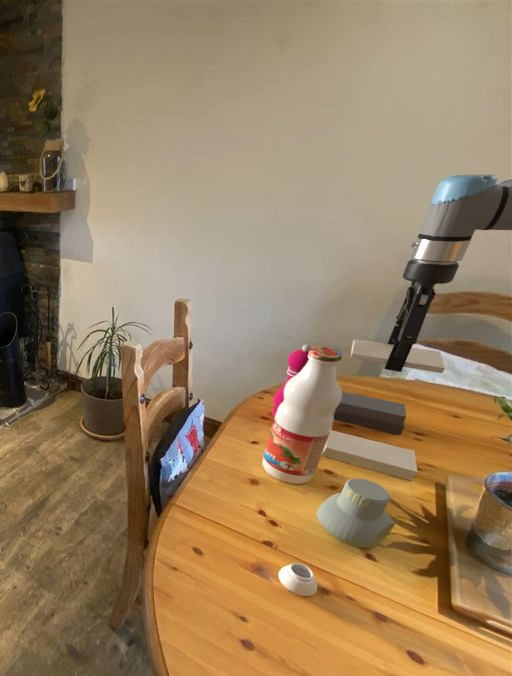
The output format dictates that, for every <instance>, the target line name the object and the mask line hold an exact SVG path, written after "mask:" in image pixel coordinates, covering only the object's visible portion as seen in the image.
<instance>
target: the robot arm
mask: <svg viewBox="0 0 512 676" xmlns="http://www.w3.org/2000/svg"><path fill="white" fill-rule="evenodd" d="M498 179H499V178H498V176H497V175H496V174H457V175H456V174H455V175H449V176H447V177H445V178H443V179H442V180H441V181H440V182H439V183H438V186H437V188H436V190H435V192H434V195H433V196H432V199H431V200H430V202H429V206H428V209H427V211H426V214H425V217H424V218H423V222H422V224H421V228H420V230H419V233H418V236H417V238H416V241H415V242H411V243H410V245H409V247H410V248H413V249H412V251H411V254H410V257H411V259H409V260H408V261H407V263H406V265H405V268H404V271H403V273H402V278H403V280H406V281H409V282H410V286H408V288H407V290H406V293H405V297H404V299H403V303H402V305H401V306H400V309H399V312H398V313H397V315H396V317H395V318H396V320H395V324H394V326H393V329H392V331H391V334H390V336H389V338H388V341H387V343H386V344H391V345H394V346H393V348H392V351H391V353H390V356H389V358H388V361H387V363H386V364H384V365H385V366H384V367H383V368H384V370H386V371H393V372H399V373H402V371H403V368H404V367H403V366H404V364H405V362H406V359H407V357H408V355H409V352H410V350H411V348H413V346H414V345H416V343H417V342H418V341H417V340H418V338H419V334H420V332H421V329H422V327H423V324H424V322H425V319H426V316H427V315H428V311H429V309H430V306H431V304H432V301H433V300H434V299H435V296H436V290H435V288H434V286H435V285H444V284H449V283H451V282H453V280H454V278H455V276H456V274H457V272H458V269H459V268H460V264H459V263H458V262H461V261H462V260H463V259H464V257H465V255H466V253H467V250H468V248H469V245H470V244H471V241H472V239H473V235H474V233H476V231H512V179H506V180H501V181H499V182H498Z"/></svg>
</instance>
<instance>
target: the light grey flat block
mask: <svg viewBox="0 0 512 676" xmlns="http://www.w3.org/2000/svg"><path fill="white" fill-rule="evenodd" d="M321 457H325V458H329V459H332V460H334V461H335V460H336V461H340V462H342V463H346V464H350V465H354V466H358V467H361V468H365V469H367V470H372V471H375V472H379V473H382V474H386V475H390V476H393V477H397V478H400V479H404V480H407V481H413V479H414V477H416V476H417V474H418V465H417V457H416V451H415V450H413V449H409V448H405V447H400V446H397V445H392V444H388V443H384V442H380V441H377V440H372V439H368V438H364V437H360V436H357V435H353V434H352V435H351V434H348V433H344V432H340V431H336V430H332V429H331V432H330V434H329V437H328V439H327V442H326V445H325V447H324V450H323V453H322V455H321Z"/></svg>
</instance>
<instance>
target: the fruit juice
mask: <svg viewBox="0 0 512 676" xmlns="http://www.w3.org/2000/svg"><path fill="white" fill-rule="evenodd" d="M342 357H343V354H342V352H341V351H340V350H338V349H336V348H332V347H327V346H313V347H311V349H310V351H309V353H308V358H309V360H308V362H307V364H306V365H305V366H304V368H303V369H302V370H301V371H300V372H299V373H298V374H297V375H296V376H294V377H293V378H291V379H290V380H289V381H288V382H287V383H286V382H285V383H286V385H285V388H284V401H283V402H282V403H281V404H280V405H279V407H278V409H277V412H276V415H275V417H274V419H273V423H272V424H271V425H272V426H271V429H270V433H269V436H268V439H267V442H266V445H265V449H264V452H263V455H262V460H261V461H262V462H261V464H262V468H263V469H264V471H265V472H266V473H267V474H268V475H270V476H271V477H273V478H274V479H277V480H279V481H281V482H284V483H289V484H295V485H296V484H297V485H300V484H306V483H309V482H310V481H311V480H313V478H314V476H315V474H316V472H317V469H318V465H319V463H320V460H321V458H322V453H323V450H324V447H325V445H326V442H327V439H328V437H329V434H330V432H331V430H332V428H333V425H334V422H335V419H334V415H333V412H334V410H335V409H336V408H337V407H338V405H339V404H340V402H341V399H342V392H343V391H342V388H341V386H340V385H339V383H338V381H337V365H338V364H339V363H341V360H342Z"/></svg>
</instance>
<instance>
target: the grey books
mask: <svg viewBox="0 0 512 676" xmlns="http://www.w3.org/2000/svg"><path fill="white" fill-rule="evenodd" d="M333 415H334V421H339V422H342V423H343V422H344V423H348V424H352V425H356V426H361V427H365V428H369V429H374V430H377V431H382V432H386V433H390V434H394V435H399V436H401V435H402V433H403V432H404V429H405V427H406V425H405V420H406V419H407V413H406V406H405V403H400V402H396V401H391V400H387V399H381V398H376V397H372V396H371V397H370V396H365V395H361V394H356V393H352V392H346V391H342V399H341V402H340V404H339V405H338V407H337V408H336V409H335V410H334V412H333Z"/></svg>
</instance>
